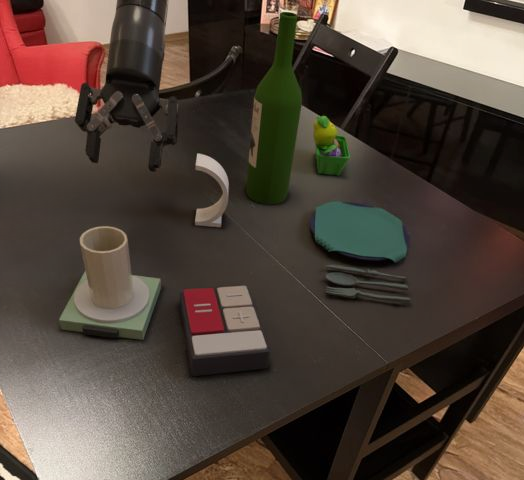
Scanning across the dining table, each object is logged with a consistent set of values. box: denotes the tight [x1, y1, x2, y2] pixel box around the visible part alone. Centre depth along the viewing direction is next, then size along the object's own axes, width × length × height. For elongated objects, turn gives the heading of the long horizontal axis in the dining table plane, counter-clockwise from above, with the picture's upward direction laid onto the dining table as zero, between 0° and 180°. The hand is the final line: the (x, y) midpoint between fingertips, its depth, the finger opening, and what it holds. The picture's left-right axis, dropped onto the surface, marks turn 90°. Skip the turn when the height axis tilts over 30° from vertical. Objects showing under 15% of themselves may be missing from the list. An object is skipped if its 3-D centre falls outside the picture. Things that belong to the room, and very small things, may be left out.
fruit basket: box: [312, 115, 351, 176], centre depth 111 cm, size 11×9×11 cm
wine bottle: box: [245, 11, 303, 205], centre depth 91 cm, size 9×9×32 cm
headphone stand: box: [194, 152, 230, 228], centre depth 89 cm, size 5×6×12 cm
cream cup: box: [79, 225, 134, 309], centre depth 69 cm, size 6×6×10 cm
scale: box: [58, 270, 162, 341], centre depth 73 cm, size 12×13×3 cm
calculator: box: [179, 285, 271, 377], centre depth 71 cm, size 11×4×15 cm
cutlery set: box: [309, 200, 411, 305], centre depth 91 cm, size 20×30×2 cm, turn 174°
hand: (122, 165), depth 70 cm, fingers open, 8 cm apart
